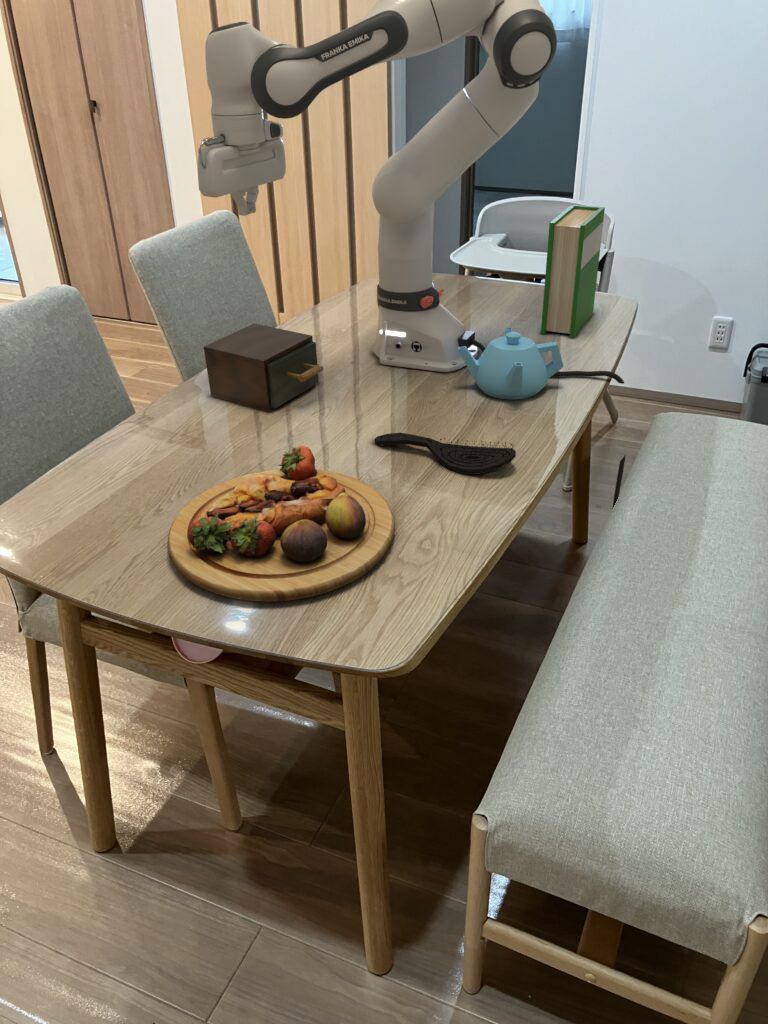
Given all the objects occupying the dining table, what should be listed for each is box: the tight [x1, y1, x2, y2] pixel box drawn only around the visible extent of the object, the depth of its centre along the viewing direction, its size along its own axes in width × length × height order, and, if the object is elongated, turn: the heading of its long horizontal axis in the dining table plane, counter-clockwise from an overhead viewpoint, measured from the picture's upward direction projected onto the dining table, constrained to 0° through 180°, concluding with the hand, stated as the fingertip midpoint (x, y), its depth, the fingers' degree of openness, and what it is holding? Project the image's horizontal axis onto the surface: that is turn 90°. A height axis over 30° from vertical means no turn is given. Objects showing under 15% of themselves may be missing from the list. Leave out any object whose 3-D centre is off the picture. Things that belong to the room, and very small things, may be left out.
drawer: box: [267, 341, 324, 409], centre depth 158 cm, size 18×13×8 cm
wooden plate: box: [167, 445, 396, 602], centre depth 116 cm, size 32×32×8 cm
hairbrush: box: [373, 432, 517, 475], centre depth 136 cm, size 8×4×25 cm
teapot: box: [458, 327, 564, 400], centre depth 157 cm, size 15×15×11 cm
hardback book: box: [540, 204, 606, 339], centre depth 183 cm, size 18×7×24 cm, turn 154°
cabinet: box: [203, 322, 317, 413], centre depth 159 cm, size 15×15×10 cm
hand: (247, 214), depth 151 cm, fingers closed
